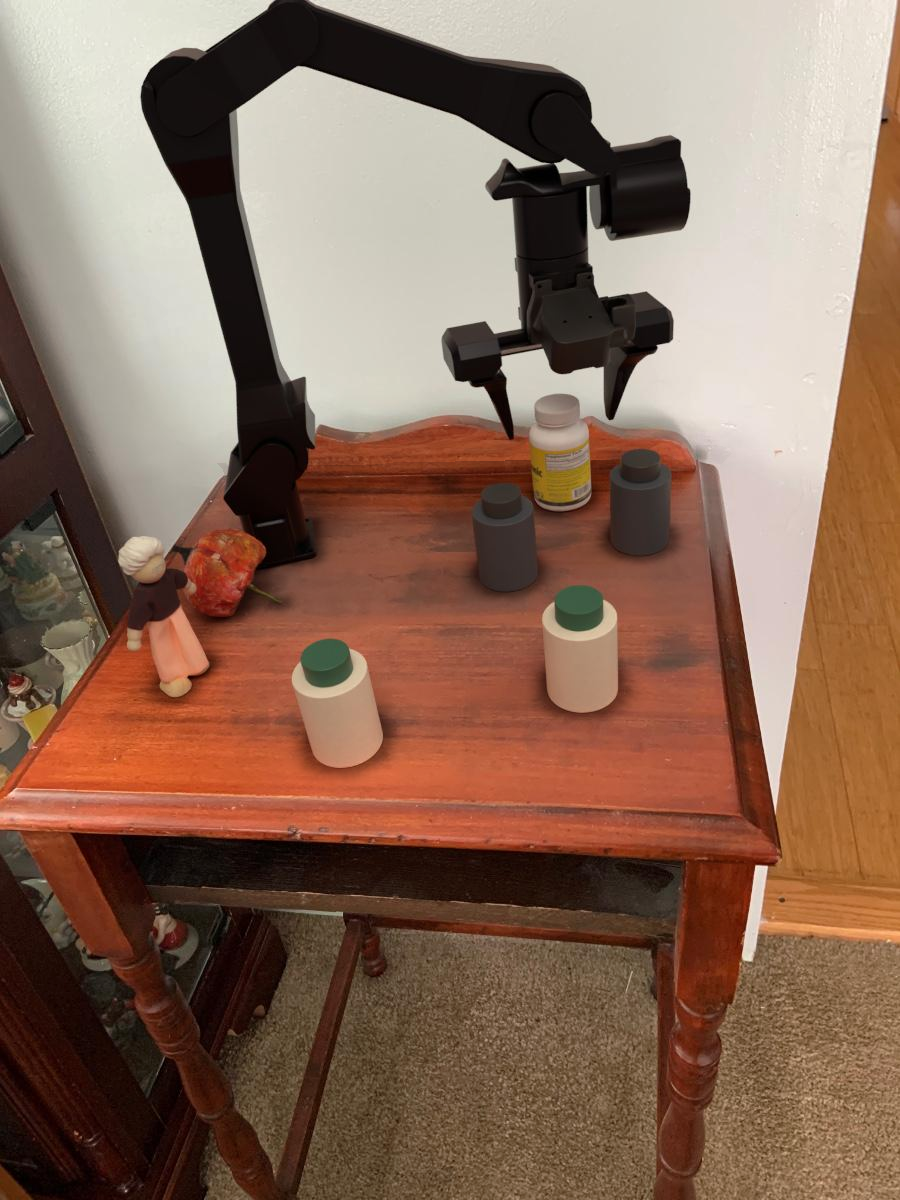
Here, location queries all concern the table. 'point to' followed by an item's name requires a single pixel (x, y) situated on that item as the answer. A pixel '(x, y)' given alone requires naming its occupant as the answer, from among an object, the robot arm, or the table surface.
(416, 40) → the robot arm
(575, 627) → the cream bottle
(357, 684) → the cream bottle
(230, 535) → the red orange flower
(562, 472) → the supplement bottle
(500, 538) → the grey bottle left
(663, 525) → the grey bottle right
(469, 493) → the table surface
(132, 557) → the grandmother figurine
